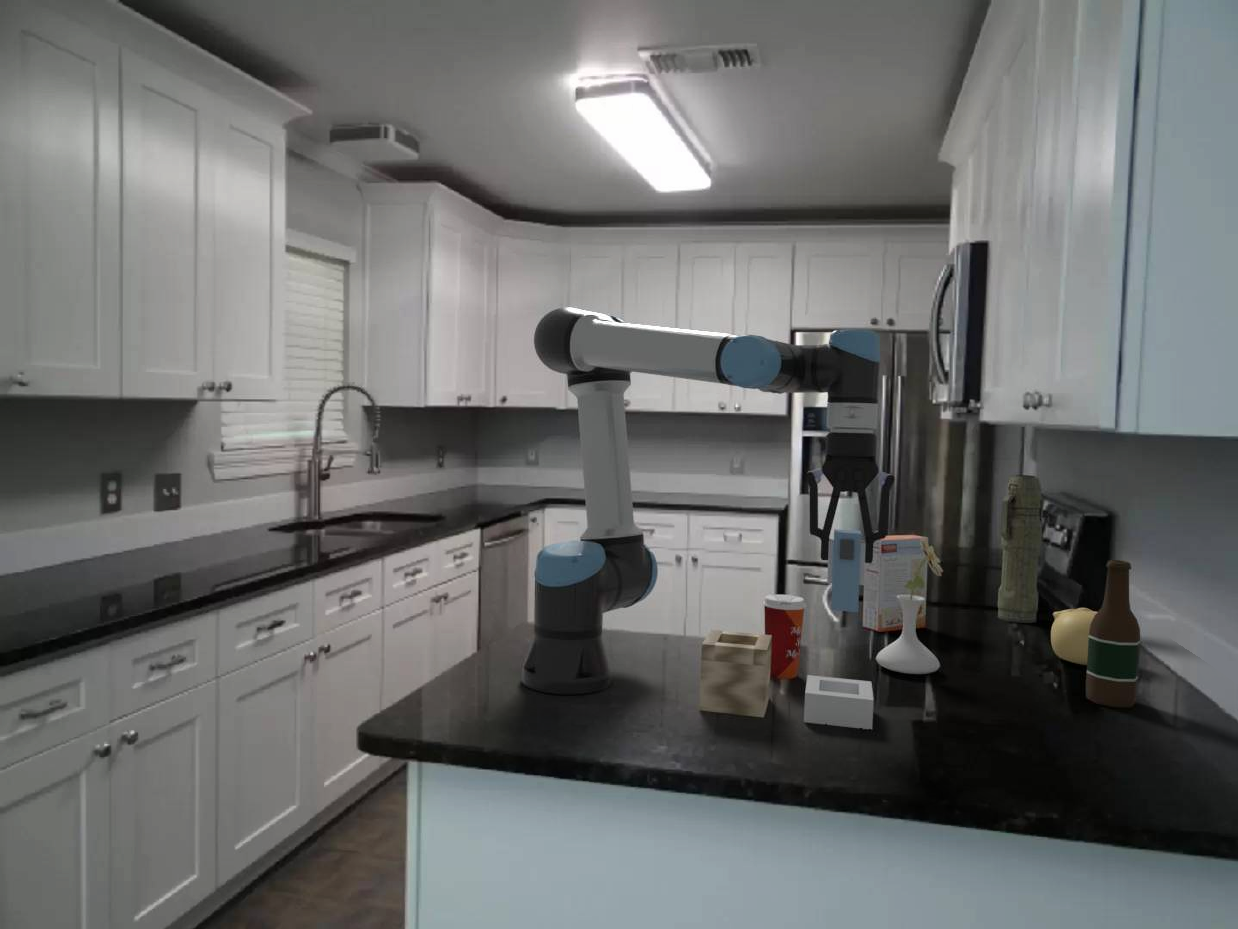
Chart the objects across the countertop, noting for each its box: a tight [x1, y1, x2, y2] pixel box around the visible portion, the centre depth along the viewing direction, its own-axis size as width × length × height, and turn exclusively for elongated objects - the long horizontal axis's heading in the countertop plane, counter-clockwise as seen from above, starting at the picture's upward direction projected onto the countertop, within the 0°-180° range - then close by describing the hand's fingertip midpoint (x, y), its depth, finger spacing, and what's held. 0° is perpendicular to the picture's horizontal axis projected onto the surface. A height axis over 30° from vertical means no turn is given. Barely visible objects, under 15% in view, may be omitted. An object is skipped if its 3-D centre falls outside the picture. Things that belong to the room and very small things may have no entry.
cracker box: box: [862, 534, 929, 633], centre depth 200 cm, size 14×6×21 cm, turn 116°
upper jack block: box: [699, 629, 772, 719], centre depth 141 cm, size 10×10×10 cm
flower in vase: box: [875, 536, 944, 675], centre depth 165 cm, size 13×11×25 cm
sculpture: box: [1050, 607, 1098, 666], centre depth 175 cm, size 12×12×11 cm
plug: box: [830, 529, 862, 613], centre depth 136 cm, size 4×5×12 cm
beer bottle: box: [1085, 559, 1141, 709], centre depth 149 cm, size 8×8×24 cm
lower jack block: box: [803, 674, 875, 731], centre depth 138 cm, size 10×10×4 cm
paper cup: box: [762, 593, 807, 680], centre depth 159 cm, size 8×8×14 cm
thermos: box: [997, 474, 1045, 624], centre depth 214 cm, size 9×12×35 cm
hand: (845, 582), depth 136 cm, fingers closed on plug, 4 cm apart
